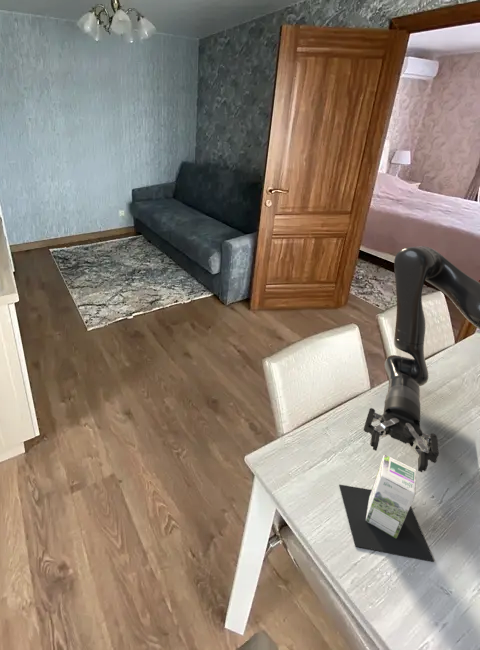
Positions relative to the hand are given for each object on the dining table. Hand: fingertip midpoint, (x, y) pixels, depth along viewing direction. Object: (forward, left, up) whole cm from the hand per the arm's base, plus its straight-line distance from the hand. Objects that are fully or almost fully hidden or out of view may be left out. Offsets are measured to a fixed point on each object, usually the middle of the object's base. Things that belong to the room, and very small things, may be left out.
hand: (397, 458), depth 74 cm
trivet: (+4, +7, -10) cm, 13 cm away
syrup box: (+4, +7, -10) cm, 12 cm away
